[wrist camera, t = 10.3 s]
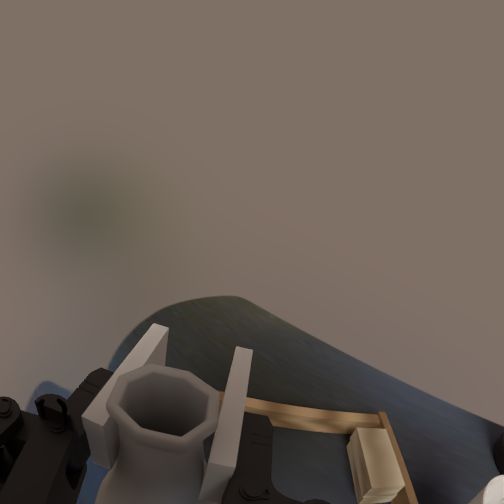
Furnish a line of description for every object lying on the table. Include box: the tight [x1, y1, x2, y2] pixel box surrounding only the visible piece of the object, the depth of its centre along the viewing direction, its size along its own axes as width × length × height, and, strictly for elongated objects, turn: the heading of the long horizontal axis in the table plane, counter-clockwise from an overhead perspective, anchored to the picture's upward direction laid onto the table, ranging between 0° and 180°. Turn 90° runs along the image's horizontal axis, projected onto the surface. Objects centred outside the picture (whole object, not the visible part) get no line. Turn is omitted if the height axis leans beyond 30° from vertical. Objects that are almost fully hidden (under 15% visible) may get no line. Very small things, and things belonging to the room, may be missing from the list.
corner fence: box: [218, 391, 418, 504], centre depth 25 cm, size 28×16×3 cm, turn 86°
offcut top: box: [350, 427, 405, 498], centre depth 24 cm, size 4×9×2 cm, turn 176°
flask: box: [94, 363, 220, 504], centre depth 9 cm, size 7×7×10 cm
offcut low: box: [347, 442, 397, 504], centre depth 24 cm, size 4×9×2 cm, turn 176°
